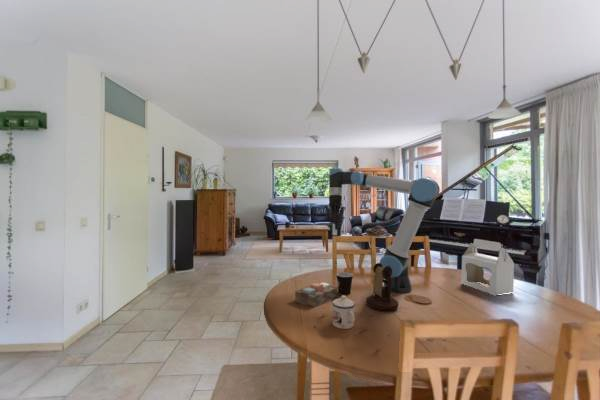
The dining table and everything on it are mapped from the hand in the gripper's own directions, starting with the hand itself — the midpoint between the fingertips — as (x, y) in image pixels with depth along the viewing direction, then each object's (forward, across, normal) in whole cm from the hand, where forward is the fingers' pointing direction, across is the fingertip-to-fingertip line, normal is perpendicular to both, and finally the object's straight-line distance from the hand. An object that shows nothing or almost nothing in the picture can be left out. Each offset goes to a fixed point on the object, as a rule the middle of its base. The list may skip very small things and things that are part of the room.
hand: (334, 234), depth 170 cm
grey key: (+28, +8, -32) cm, 43 cm away
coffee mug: (+30, +12, -7) cm, 33 cm away
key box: (+29, +8, -26) cm, 40 cm away
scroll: (+30, +36, -11) cm, 48 cm away
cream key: (+28, +8, -20) cm, 35 cm away
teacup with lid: (+30, +35, -41) cm, 62 cm away
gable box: (+30, +67, +56) cm, 92 cm away
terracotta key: (+27, +8, -26) cm, 38 cm away
